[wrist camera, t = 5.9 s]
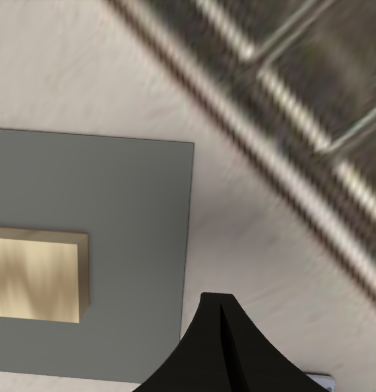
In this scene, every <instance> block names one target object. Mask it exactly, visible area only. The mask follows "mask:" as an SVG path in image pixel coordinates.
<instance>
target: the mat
mask: <svg viewBox="0 0 376 392" xmlns="http://www.w3.org/2000/svg"><path fill="white" fill-rule="evenodd" d="M193 147H194V143H188V142H174V141H160V140H147V139H133V138H119V137H105V136H92V135H78V134H64V133H50V132H37V131H23V130H9V129H0V227H11V228H23V229H36V230H49V231H62V232H75V233H87V234H89V305H90V306H89V308H88V309H87V311H86V312H85V314H84V316H83V317H82V319H81V321H80V322H79V323H73V322H61V321H49V320H37V319H25V318H13V317H1V316H0V371H1V372H13V373H24V374H36V375H47V376H59V377H70V378H82V379H94V380H105V381H117V382H128V383H140V384H142V383H143V382H145V381H146V380H147V379H148V378H149V377H150V376H151V375H152V374H153V373H154V372H155V371H156V370H157V369H158V368H159V367H160V366H161V365H162V364H163V363H164V361H165V360H166V359H167V358H168V357H169V355H170V354H171V353H172V352H173V351H174V349H175V348H176V346H177V345H178V344H179V337H180V324H181V310H182V297H183V283H184V269H185V256H186V242H187V228H188V215H189V201H190V188H191V174H192V160H193Z"/></svg>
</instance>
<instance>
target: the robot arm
mask: <svg viewBox="0 0 376 392" xmlns="http://www.w3.org/2000/svg"><path fill="white" fill-rule="evenodd" d="M335 386H336V382H335V380H334V379H333V378H332V377H330V376H321V375H309V374H305V373H304V372H302V371H301V370H300V369H299V368H297V367H296V366H295V365H294V364H292V363H291V362H290V361H289V360H288V359H287V358H286V357H285V356H283V355H282V354H281V353H280V352H279V351H278V350H277V349H276V348H275V347H274V346H273V345H272V344H271V343H270V342H269V341H268V340H267V339H266V338H265V336H264V335H263V334H262V333H261V332H260V331H259V329H258V328H257V327H256V326H255V324H254V323H253V322H252V321H251V319H250V318H249V317H248V315H247V314H246V313H245V311H244V310H243V308H242V307H241V306H240V304H239V303H238V301H237V300H236V298H235V297H234V296H233V294H224V293H209V292H203V293H202V294H201V297H200V303H199V306H198V309H197V311H196V313H195V316H194V318H193V320H192V322H191V324H190V326H189V327H188V329H187V331H186V333H185V335H184V336H183V338H182V339H181V341H180V342H179V344H178V345H177V346H176V348H175V349H174V351H173V352H172V353H171V354H170V355H169V357H168V358H167V359H166V360H165V361H164V363H163V364H162V365H161V366H160V367H159V368H158V369H157V370H156V371H155V372H154V373H153V374H152V375H151V376H150V377H149V378H148V379H147V380H146V381H145V382H143V383H142V384H141V385H140V386H139V387H137V388H136V389H135V390H134V391H132V392H334V391H335ZM328 387H329V388H328Z"/></svg>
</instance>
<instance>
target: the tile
mask: <svg viewBox="0 0 376 392" xmlns="http://www.w3.org/2000/svg"><path fill="white" fill-rule="evenodd" d="M89 306H90V305H89V234H87V233H75V232H62V231H49V230H36V229H23V228H11V227H0V316H1V317H13V318H25V319H37V320H49V321H61V322H73V323H79V322H80V321H81V319H82V317H83V316H84V314H85V312H86V311H87V309H88V308H89Z"/></svg>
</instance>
